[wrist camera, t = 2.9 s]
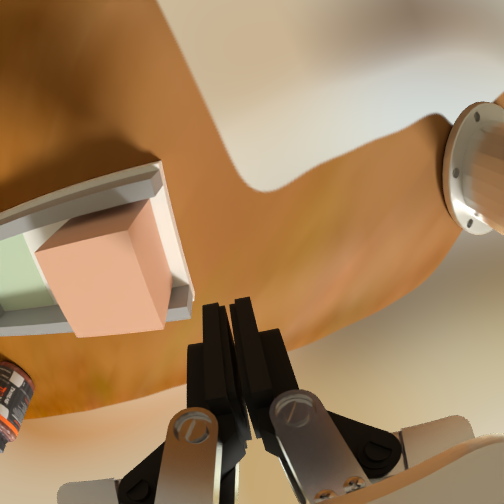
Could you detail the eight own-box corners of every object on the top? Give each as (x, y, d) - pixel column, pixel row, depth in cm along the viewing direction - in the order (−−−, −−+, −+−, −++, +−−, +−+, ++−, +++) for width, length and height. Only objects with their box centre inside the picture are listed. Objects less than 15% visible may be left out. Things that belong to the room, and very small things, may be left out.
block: (149, 198, 17) (127, 230, 12) (173, 280, 20) (163, 328, 15) (70, 218, 17) (34, 252, 12) (99, 292, 19) (77, 337, 15)
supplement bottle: (15, 357, 23) (-19, 431, 13) (44, 390, 26) (20, 462, 16) (-8, 359, 23) (-40, 424, 13) (19, 390, 26) (-6, 453, 16)
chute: (161, 160, 17) (148, 171, 14) (194, 292, 22) (192, 323, 19) (-31, 227, 16) (-53, 244, 13) (11, 317, 21) (-4, 339, 18)
